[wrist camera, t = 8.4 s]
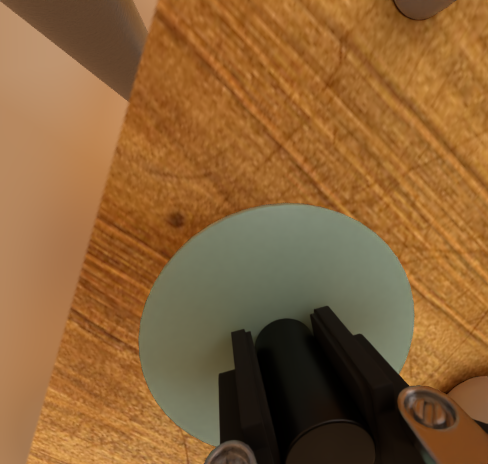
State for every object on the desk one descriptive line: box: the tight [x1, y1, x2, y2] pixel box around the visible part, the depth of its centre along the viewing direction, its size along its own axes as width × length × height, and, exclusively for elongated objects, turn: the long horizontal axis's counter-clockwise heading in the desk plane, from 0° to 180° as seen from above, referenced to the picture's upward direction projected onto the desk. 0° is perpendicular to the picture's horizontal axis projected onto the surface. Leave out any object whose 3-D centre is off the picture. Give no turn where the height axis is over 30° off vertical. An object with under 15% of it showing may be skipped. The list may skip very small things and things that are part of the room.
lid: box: [139, 203, 414, 464], centre depth 9 cm, size 11×11×6 cm
